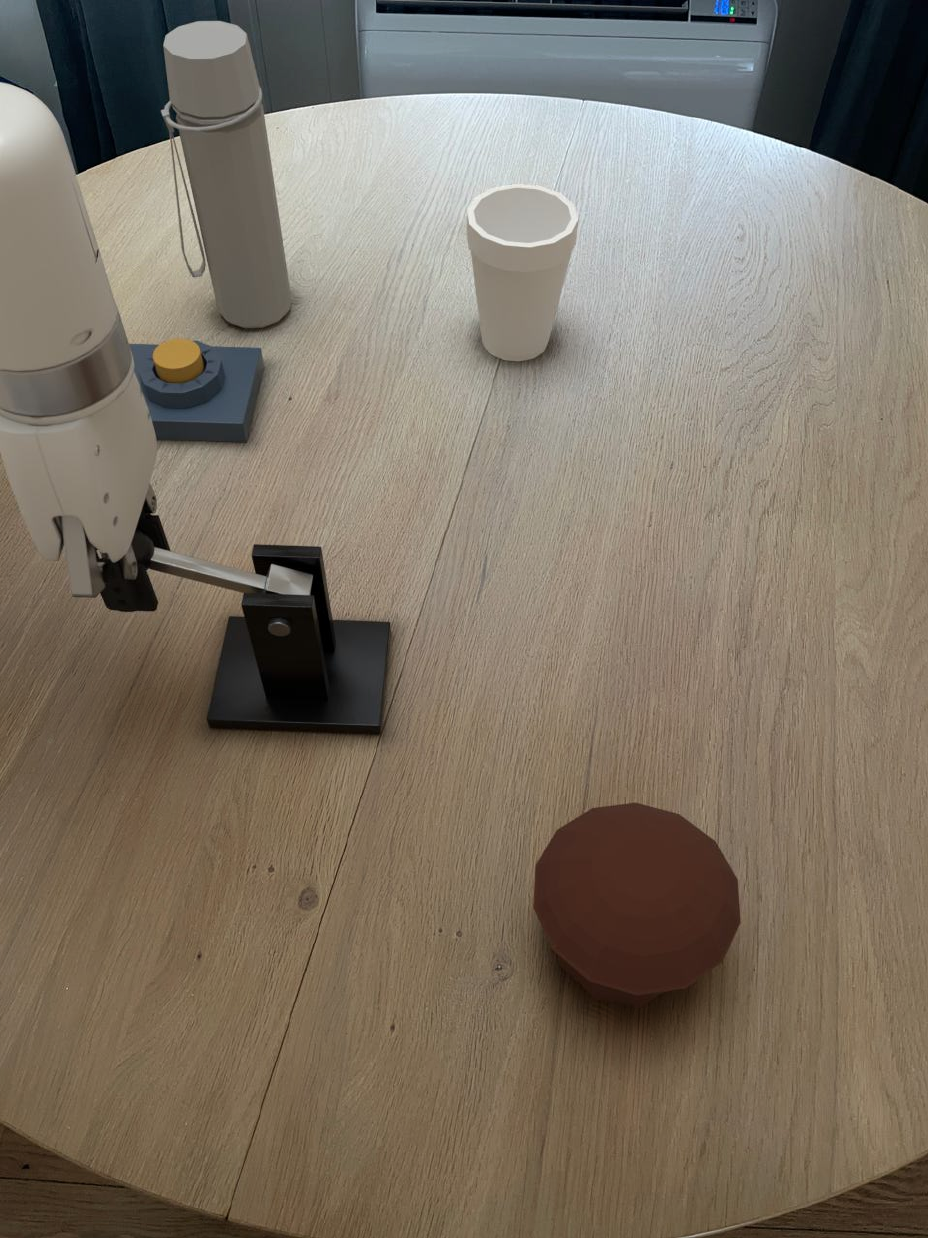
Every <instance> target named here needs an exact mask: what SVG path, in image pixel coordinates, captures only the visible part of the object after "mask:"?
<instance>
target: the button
mask: <svg viewBox="0 0 928 1238" xmlns="http://www.w3.org/2000/svg"><path fill="white" fill-rule="evenodd" d="M193 341H194V340H191V339H189V338H188V339H187V338H182V337H181V338H172V339H167V340H165V341H163V342H161V343H160V344H158V345H159V346H157V347H156V349H155V350H154V352H153V360H154V364H155V367H156V371H157V374H158V376H159V378H160V379H161V380H163V381H164V382H167V383H179V384H182V383H186V382H189V381H192V380H195V379H196V378H197V377H198V376H200V375H201V374H202V372H203V369H204V364H203V360H202V355H201V351H200V348H199V346H198V345H197V344H196V343H195V342H193Z"/></svg>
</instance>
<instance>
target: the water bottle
mask: <svg viewBox="0 0 928 1238" xmlns="http://www.w3.org/2000/svg"><path fill="white" fill-rule="evenodd" d="M163 40H164V41H163V45H162V47H163V55H164V62H165V72H166V78H167V79H166V80H167V88H168V95H169V101H168V102H167V103H166V104H164V109H161V110H160V113H161V115H162V118H163V121H164V122H165V125H166V127H167V130H168V132H169V141H170V150H171V160H172V161H171V162H172V170H173V179H174V189H175V196H176V198H175V199H176V208H177V217H178V226H179V228H178V229H179V237H180V238H179V239H180V246H181V247H180V248H181V251H182V255H183V259H184V261H185V264H186V267H187V270H188V271H189V273H190V275H191V277H192V278H200V277H203V275H204V273H205V270H206V265H207V267H208V272H209V275H210V280H211V285H212V291H213V295H214V299H215V304H216V308H217V311H218V312H219V313H220V315H221V316H222V317H223V319H224V320H225V321H226V322H228V323H229V324H231V325H234V326H237V327H239V328H243V329H263V328H265V327H267V326H270V325H273V324H276V323H278V322H280V321H281V320H282V318H283V317H284V316H286V315H287V313H288V312H289V311H290V309H291V304H292V294H291V287H290V279H289V273H288V266H287V259H286V252H285V247H284V238H283V232H282V226H281V218H280V212H279V206H278V199H277V191H276V186H275V185H276V184H275V178H274V171H273V165H272V158H271V153H270V151H271V150H270V145H269V139H268V131H267V125H266V119H265V118H266V116H265V111H264V104H263V103H262V101H263V91H262V87H261V85H260V82H259V78H258V74H257V69H256V66H255V62H254V58H253V54H252V49H251V45H250V41H249V38H248V33H247V32H246V31H244V30H243V29H242V28H241V27H240V26H239V25H237V24H234V23H230V22H226V21H222V20H198V21H194V22H190V23H187V24H183V25H179V26H177V27H176V28H174V29H173V30H171V31H170V32H168V33H167V34H165V37H164V39H163ZM170 108H172V110H173V111H175V113H176V115H175V116H176V117H175V120H176V122H175V121H173V120H172V118H171V113H170ZM174 128H175V129H177V130H178V133H179V138H180V143H181V147H182V152H183V156H184V161H185V166H186V171H187V175H188V180H189V184H190V189H191V193H192V198H193V203H194V208H195V211H196V216H197V221H196V217H195V213H194V208H193V205H192V201H191V197H190V193H189V191H188V186H187V183H186V182H187V181H186V179H185V175H184V171H183V167H182V163H181V159H180V156H179V152H178V148H177V144H176V140H175V136H174V132H175V129H174ZM173 145H174V146H173ZM174 149H175V153H176V157H177V161H178V166H179V169H180V173H181V178H182V181H183V185H184V189H185V194H186V198H187V201H188V206H189V210H190V214H191V217H192V221H193V222H192V223H193V225H194V229H195V233H196V239H197V242H198V246H199V250H200V254H201V258H202V262H201V264H200V267H199V269H196V270H194V271H193V269H192V268H191V265H190V263H189V262H188V261H189V260H188V258H187V256H186V252H185V245H184V235H183V225H182V217H181V208H180V199H179V189H178V180H177V170H176V163H175V154H174ZM197 222H198V224H197ZM198 226H199V229H198ZM199 230H200V232H199ZM200 236H201V237H200ZM206 263H207V264H206Z"/></svg>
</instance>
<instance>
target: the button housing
mask: <svg viewBox="0 0 928 1238" xmlns="http://www.w3.org/2000/svg"><path fill="white" fill-rule="evenodd" d="M192 341H193V342H195V343H196V344H197V345H198V346H199V348H200V351H201V355H202V360H203V364H204V369H203V372H202V374H201V375H200V376H198V377H197V378H196V379H195V380H192V381H189V382H186V383H182V384H179V383H167V382H164V381H163V380H161V379H160V378H159V376H158V374H157V371H156V367H155V364H154V360H153V352H154V350H155V349H156V347H157V346H159V345H160V344H153V343H152V344H151V343H129V346H130V349H131V352H132V356H133V359H134V372H135V375H136V377H137V380H138V382H139V385H140V387H141V390H142V393H143V395H144V398H145V401H146V404H147V407H148V410H149V413H150V416H151V419H152V423H153V427H154V431H155V435H156V440H167V441H168V440H169V441H172V440H173V441H198V442H199V441H201V442H230V443H247V442H248V439H249V435H250V430H251V426H252V421H253V417H254V414H255V413H254V412H255V408H256V404H257V400H258V395H259V391H260V387H261V384H262V383H261V382H262V380H263V379H262V378H263V375H264V369H265V363H264V357H263V351H262V348H261V347H245V346H217V345H216V346H213V345H209V344H206V343H204V342H202V341H201V340H192Z"/></svg>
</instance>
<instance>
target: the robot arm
mask: <svg viewBox="0 0 928 1238" xmlns="http://www.w3.org/2000/svg"><path fill="white" fill-rule="evenodd" d="M129 344H130V343H129V340H128V337H127V333H126V330H125V326H124V323H123V321H122V318H121V314H120V311H119V307H118V306H117V303H116V300H115V296H114V293H113V290H112V287H111V284H110V280H109V277H108V272H107V270H106V267H105V264H104V261H103V258H102V254H101V251H100V247H99V244H98V241H97V237H96V235H95V231H94V228H93V225H92V221H91V218H90V215H89V212H88V208H87V206H86V203H85V199H84V195H83V192H82V190H81V186H80V183H79V179H78V177H77V174H76V171H75V168H74V164H73V160H72V156H71V154H70V150H69V148H68V145H67V141H66V138H65V136H64V132H63V130H62V127H61V126H60V123H59V122H58V120H57V119H56V117H55V115H54V114H53V112H52V111H51V110H50V108H49V107H48V106H47V105H46V104H45V103H44V102H43V101H42V100H41V99H40V98H39V97H37V96H36V95H35V94H33V93H31V92H29V91H28V90H26V89H23V88H21V87H18V86H15V85H14V84H10V83H7V82H1V81H0V455H1V460H2V464H3V467H4V470H5V473H6V476H7V480H8V482H9V485H10V488H11V490H12V493H13V496H14V498H15V501H16V503H17V506H18V509H19V512H20V514H21V516H22V519H23V521H24V524H25V526H26V529H27V531H28V533H29V535H30V537H31V540H32V542H33V544H34V546H35V548H36V550H37V552H38V553H39V555H40V556H41V558H42V559H44V560H45V561H47V562H59V561H60V559H61V556H62V552H63V549H64V553H65V560H66V569H67V575H68V582H69V590H70V595H71V597H73V598H80V599H81V598H83V599H84V598H85V599H96V598H97V597H98V596H99V595H100V596H101V599H102V601H103V603H104V605H105V607H106V608H107V610H110V611H117V612H122V613H134V612H135V613H136V612H149V613H150V612H153V613H154V612H156V611H157V610H158V606H159V600H158V598H157V597H158V596H157V594H156V592H155V589H154V586H153V584H152V581H151V578H150V576H149V573H148V570H146V568H145V565H142V564H139V563H137V561H136V558H135V555H134V551H133V548H132V545H131V542H132V539H133V536H134V533H135V530H136V527H137V528H139V529H141V530H143V531H144V532H146V533H147V534H148V535H149V537H150V538H151V540H152V541H153V544H154V547H156V548H160V549H164V550H168V551H171V547H170V544H169V542H168V538H167V536H166V532H165V530H164V526H163V524H162V521H161V518H160V515H159V514H155V513H156V511H157V508H158V500H157V497H156V494H155V491H154V489H153V487H152V484H151V480H152V476H153V474H154V470H155V465H156V461H157V454H158V442H157V440H158V439H156V435H155V431H154V427H153V423H152V419H151V416H150V413H149V410H148V407H147V404H146V401H145V398H144V395H143V393H142V390H141V387H140V385H139V382H138V380H137V377H136V375H135V372H134V359H133V356H132V352H131V349H130V346H129ZM98 551H99V552H100V554H101V553H107V554H108V557H107V558H102V557H99V554H98Z"/></svg>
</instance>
